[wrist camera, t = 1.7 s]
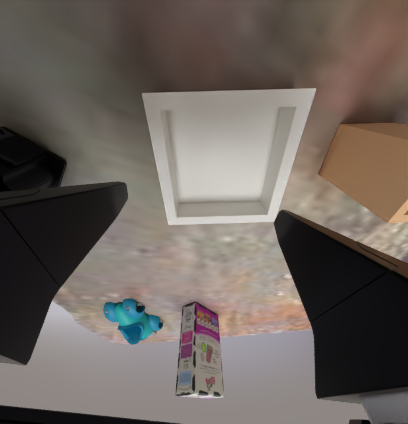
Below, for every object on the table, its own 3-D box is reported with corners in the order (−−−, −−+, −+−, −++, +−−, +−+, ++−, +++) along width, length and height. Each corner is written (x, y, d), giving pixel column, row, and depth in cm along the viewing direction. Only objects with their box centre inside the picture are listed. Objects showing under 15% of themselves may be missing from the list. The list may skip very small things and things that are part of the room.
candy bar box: (181, 306, 45) (173, 396, 32) (195, 301, 43) (193, 394, 30) (205, 319, 50) (207, 400, 37) (218, 314, 48) (225, 398, 35)
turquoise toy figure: (136, 326, 53) (129, 352, 48) (99, 302, 43) (85, 332, 38) (166, 321, 52) (162, 348, 46) (135, 295, 41) (125, 326, 36)
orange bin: (318, 174, 22) (387, 222, 14) (339, 124, 18) (450, 150, 10) (362, 172, 22) (457, 220, 14) (393, 122, 18) (545, 147, 10)
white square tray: (172, 207, 24) (168, 224, 21) (153, 92, 16) (141, 93, 13) (264, 204, 25) (274, 221, 21) (293, 88, 16) (316, 88, 13)
